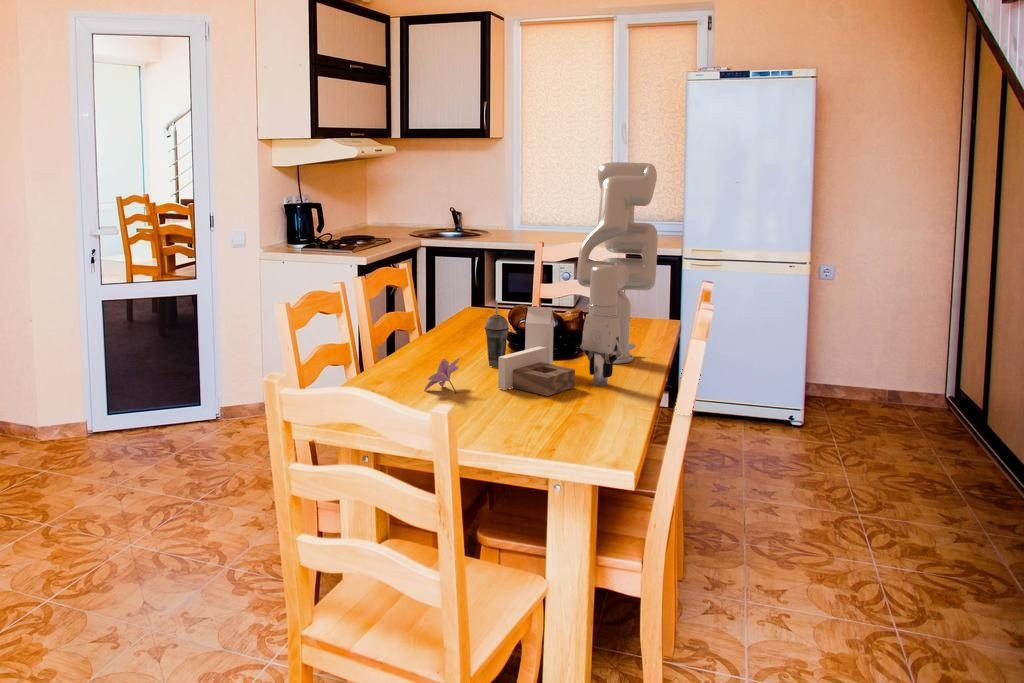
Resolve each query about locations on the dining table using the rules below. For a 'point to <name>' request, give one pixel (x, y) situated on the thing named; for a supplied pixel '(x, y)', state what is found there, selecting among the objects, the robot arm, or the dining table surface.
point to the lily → (443, 373)
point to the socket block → (543, 378)
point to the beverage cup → (496, 337)
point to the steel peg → (599, 370)
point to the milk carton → (540, 330)
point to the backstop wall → (518, 364)
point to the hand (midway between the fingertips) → (600, 374)
